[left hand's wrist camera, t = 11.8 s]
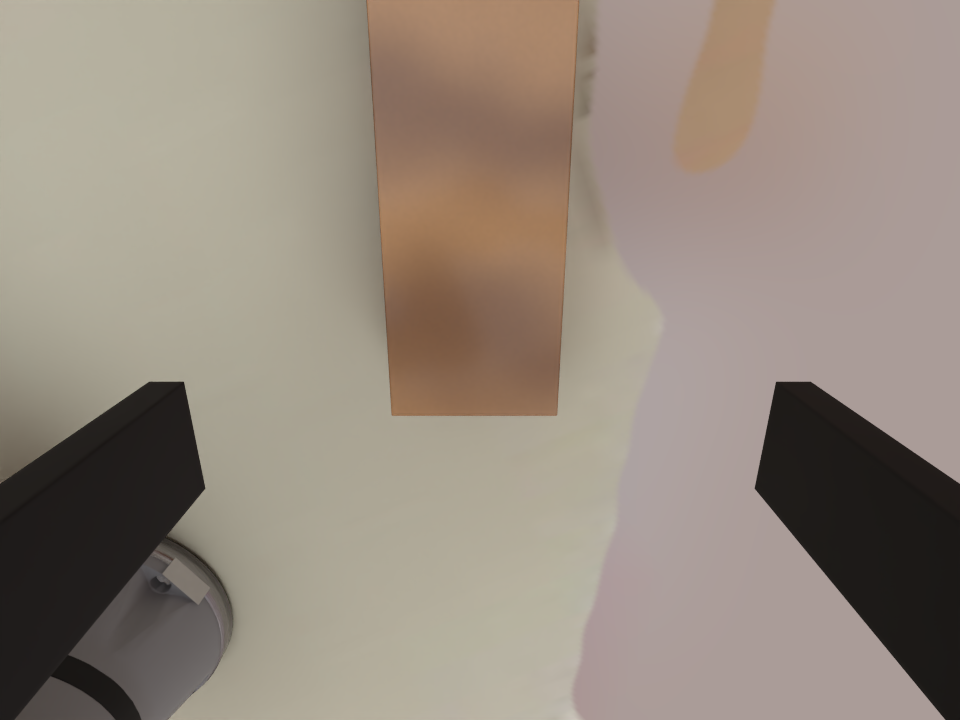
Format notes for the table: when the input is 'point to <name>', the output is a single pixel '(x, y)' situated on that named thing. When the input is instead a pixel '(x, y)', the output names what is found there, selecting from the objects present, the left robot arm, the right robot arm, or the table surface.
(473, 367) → the slab
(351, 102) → the table surface
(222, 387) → the table surface
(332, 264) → the table surface
